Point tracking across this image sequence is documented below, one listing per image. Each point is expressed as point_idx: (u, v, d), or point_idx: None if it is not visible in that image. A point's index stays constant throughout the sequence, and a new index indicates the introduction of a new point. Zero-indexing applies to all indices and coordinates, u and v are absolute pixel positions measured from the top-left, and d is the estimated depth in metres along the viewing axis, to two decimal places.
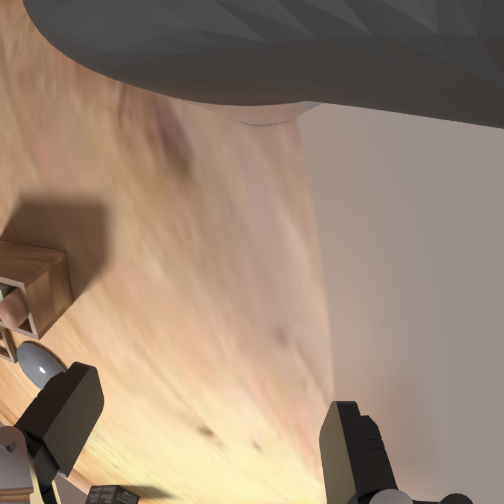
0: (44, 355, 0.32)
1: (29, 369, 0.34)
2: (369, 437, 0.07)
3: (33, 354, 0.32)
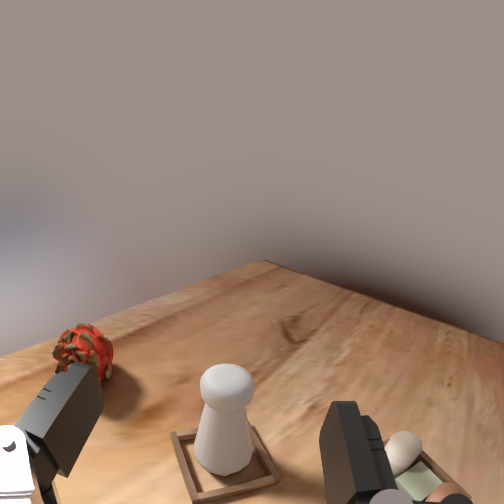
0: None
1: None
2: (369, 437, 0.07)
3: None
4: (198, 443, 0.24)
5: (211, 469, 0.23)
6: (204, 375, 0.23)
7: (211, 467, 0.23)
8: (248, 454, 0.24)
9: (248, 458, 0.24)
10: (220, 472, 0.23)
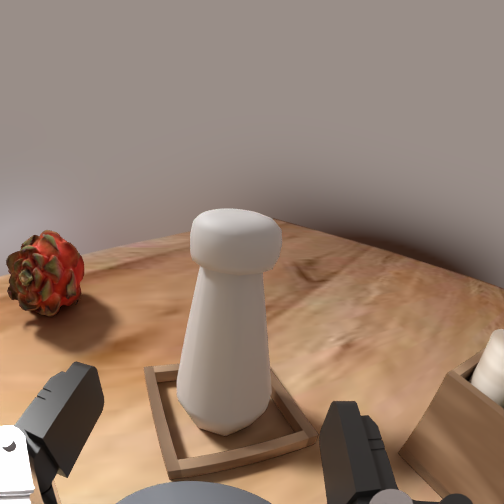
0: None
1: None
2: (369, 437, 0.07)
3: None
4: (182, 367, 0.16)
5: (203, 416, 0.15)
6: (198, 216, 0.14)
7: (202, 412, 0.15)
8: (266, 390, 0.16)
9: (266, 398, 0.16)
10: (218, 422, 0.15)
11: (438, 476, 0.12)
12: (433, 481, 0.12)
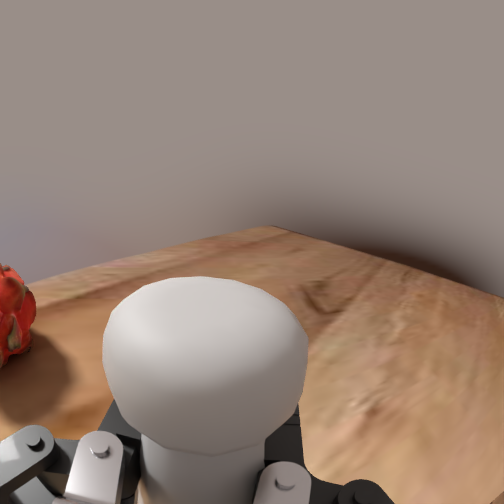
0: None
1: None
2: None
3: None
4: None
5: None
6: (120, 303, 0.06)
7: None
8: None
9: None
10: None
11: None
12: None
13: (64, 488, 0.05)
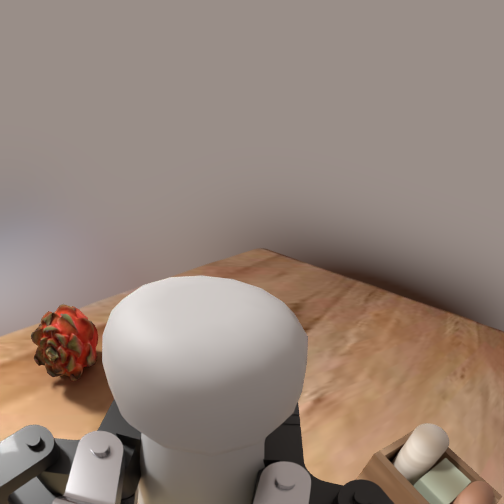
0: None
1: None
2: None
3: None
4: None
5: None
6: (120, 303, 0.06)
7: None
8: None
9: None
10: None
11: None
12: None
13: (64, 488, 0.05)
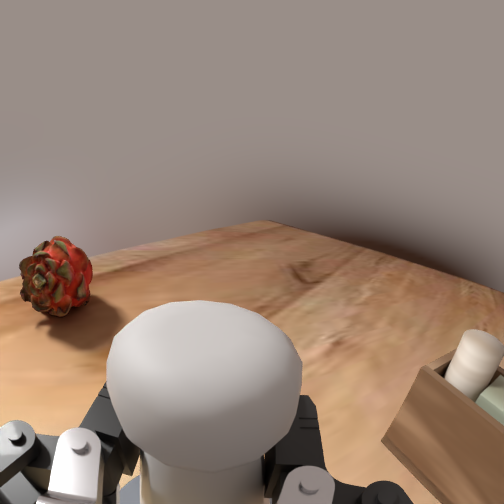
0: None
1: None
2: (304, 416, 0.08)
3: None
4: None
5: None
6: (122, 330, 0.06)
7: None
8: None
9: None
10: None
11: (417, 462, 0.14)
12: (412, 467, 0.14)
13: (46, 483, 0.05)
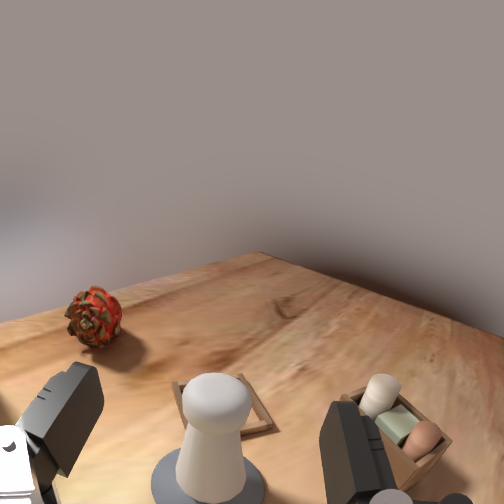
0: (258, 491, 0.21)
1: None
2: (369, 437, 0.07)
3: None
4: (180, 467, 0.18)
5: (196, 497, 0.18)
6: (187, 386, 0.17)
7: (195, 495, 0.18)
8: (241, 481, 0.19)
9: (241, 486, 0.19)
10: (206, 501, 0.18)
11: None
12: None
13: None
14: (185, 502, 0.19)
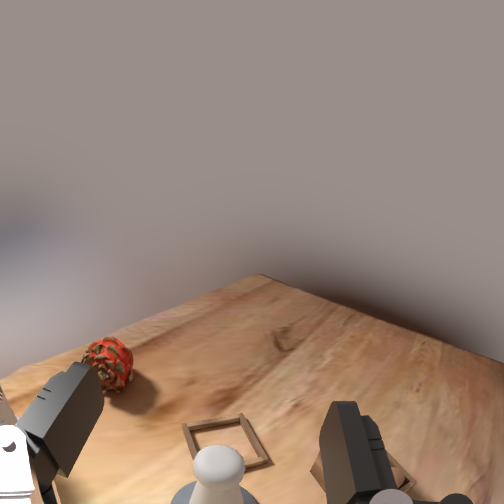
0: None
1: None
2: (369, 437, 0.07)
3: None
4: None
5: None
6: (196, 458, 0.20)
7: None
8: None
9: None
10: None
11: None
12: (324, 487, 0.29)
13: None
14: None
